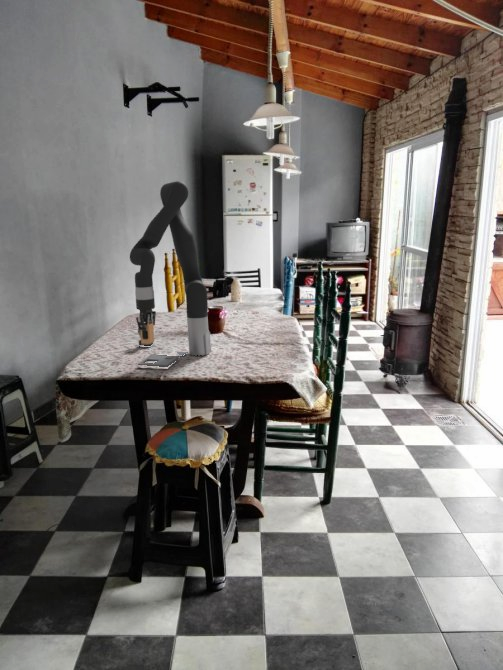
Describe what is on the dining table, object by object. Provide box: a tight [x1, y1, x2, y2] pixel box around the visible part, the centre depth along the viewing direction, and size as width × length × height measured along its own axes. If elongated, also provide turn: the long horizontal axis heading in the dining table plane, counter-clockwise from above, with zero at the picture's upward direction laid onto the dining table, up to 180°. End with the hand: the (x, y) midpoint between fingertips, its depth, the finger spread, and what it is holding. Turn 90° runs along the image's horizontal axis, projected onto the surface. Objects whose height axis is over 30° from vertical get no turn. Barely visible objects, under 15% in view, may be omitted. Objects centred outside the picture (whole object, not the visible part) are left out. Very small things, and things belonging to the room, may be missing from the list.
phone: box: [176, 351, 189, 356], centre depth 234 cm, size 6×13×1 cm, turn 75°
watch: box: [137, 328, 154, 346], centre depth 247 cm, size 6×8×11 cm
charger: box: [140, 323, 155, 344], centre depth 215 cm, size 4×4×8 cm
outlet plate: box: [137, 354, 180, 367], centre depth 220 cm, size 13×13×2 cm
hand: (147, 337), depth 215 cm, fingers closed on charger, 4 cm apart
